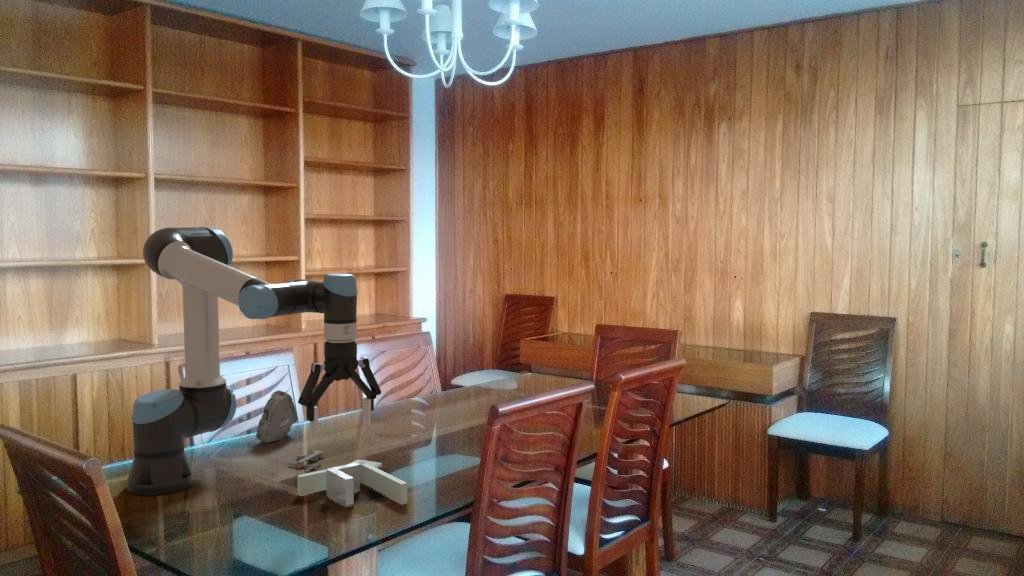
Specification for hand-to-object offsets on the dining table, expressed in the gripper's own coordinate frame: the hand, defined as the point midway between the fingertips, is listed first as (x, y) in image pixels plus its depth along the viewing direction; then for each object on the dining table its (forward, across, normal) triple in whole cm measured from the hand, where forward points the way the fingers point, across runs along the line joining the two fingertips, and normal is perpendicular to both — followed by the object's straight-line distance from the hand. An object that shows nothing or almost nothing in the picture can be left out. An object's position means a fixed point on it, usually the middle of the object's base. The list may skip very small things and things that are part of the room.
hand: (341, 429), depth 189 cm
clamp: (+19, +7, +33) cm, 39 cm away
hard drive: (+19, +14, +20) cm, 31 cm away
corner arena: (+18, +3, +1) cm, 18 cm away
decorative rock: (+19, +10, +61) cm, 65 cm away
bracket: (+18, +3, +1) cm, 18 cm away
